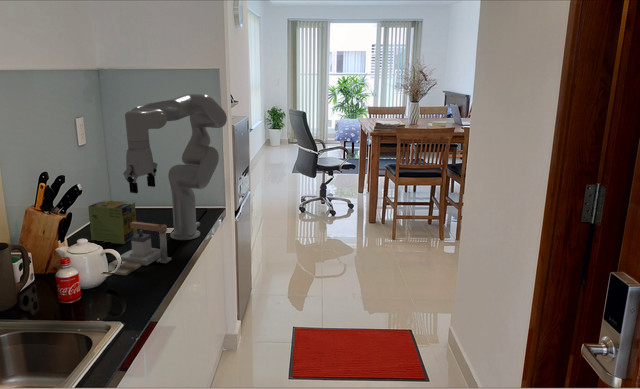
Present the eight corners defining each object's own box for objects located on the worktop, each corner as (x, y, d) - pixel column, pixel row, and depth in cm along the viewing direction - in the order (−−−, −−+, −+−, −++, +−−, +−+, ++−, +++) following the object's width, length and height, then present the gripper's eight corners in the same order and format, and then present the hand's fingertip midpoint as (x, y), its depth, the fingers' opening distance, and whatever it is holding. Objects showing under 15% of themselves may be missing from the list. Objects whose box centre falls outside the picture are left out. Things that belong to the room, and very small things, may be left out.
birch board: (115, 262, 178) (115, 259, 178) (141, 266, 176) (141, 263, 175) (99, 271, 170) (98, 269, 170) (125, 275, 167) (125, 272, 167)
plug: (140, 255, 186) (138, 228, 184) (152, 256, 185) (150, 229, 182) (132, 259, 182) (130, 232, 179) (144, 261, 180) (142, 233, 178)
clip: (135, 226, 183) (134, 221, 182) (168, 230, 179) (168, 224, 179) (129, 228, 180) (129, 223, 179) (163, 232, 176) (163, 227, 176)
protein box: (125, 244, 197) (122, 208, 193) (90, 241, 199) (87, 206, 196) (138, 236, 207) (135, 201, 203) (105, 233, 209) (102, 199, 206)
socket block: (138, 250, 190) (138, 246, 190) (165, 254, 187) (164, 249, 187) (118, 261, 179) (118, 256, 179) (146, 265, 176) (146, 260, 176)
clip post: (162, 258, 183) (160, 229, 180) (171, 259, 182) (170, 230, 179) (156, 262, 180) (154, 232, 177) (165, 263, 179) (164, 233, 176)
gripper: (146, 140, 184) (150, 183, 189) (113, 148, 169) (118, 194, 174) (162, 141, 182) (165, 185, 187) (130, 149, 166) (135, 196, 171)
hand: (143, 189), depth 180 cm, fingers open, 9 cm apart
